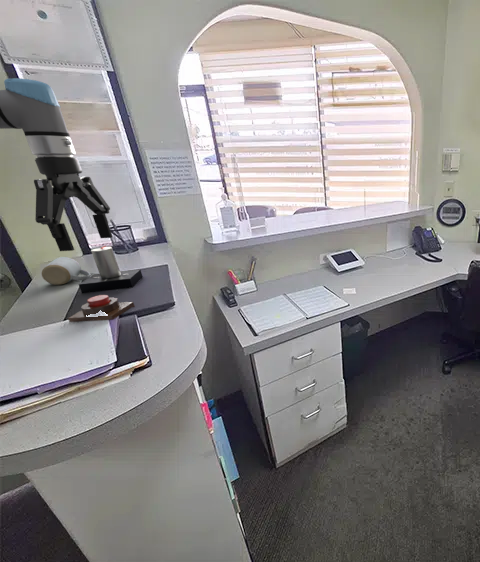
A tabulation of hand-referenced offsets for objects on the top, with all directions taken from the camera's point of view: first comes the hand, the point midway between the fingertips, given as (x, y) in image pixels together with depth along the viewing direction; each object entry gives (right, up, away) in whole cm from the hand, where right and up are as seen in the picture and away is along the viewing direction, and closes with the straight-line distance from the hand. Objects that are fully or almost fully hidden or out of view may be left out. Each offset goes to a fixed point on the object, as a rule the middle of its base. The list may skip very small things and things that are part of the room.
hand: (88, 243), depth 81 cm
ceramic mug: (-27, -10, +23) cm, 37 cm away
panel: (-9, -11, +19) cm, 23 cm away
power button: (+7, -16, -4) cm, 17 cm away
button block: (+7, -19, -3) cm, 20 cm away
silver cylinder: (-9, -8, +17) cm, 21 cm away
